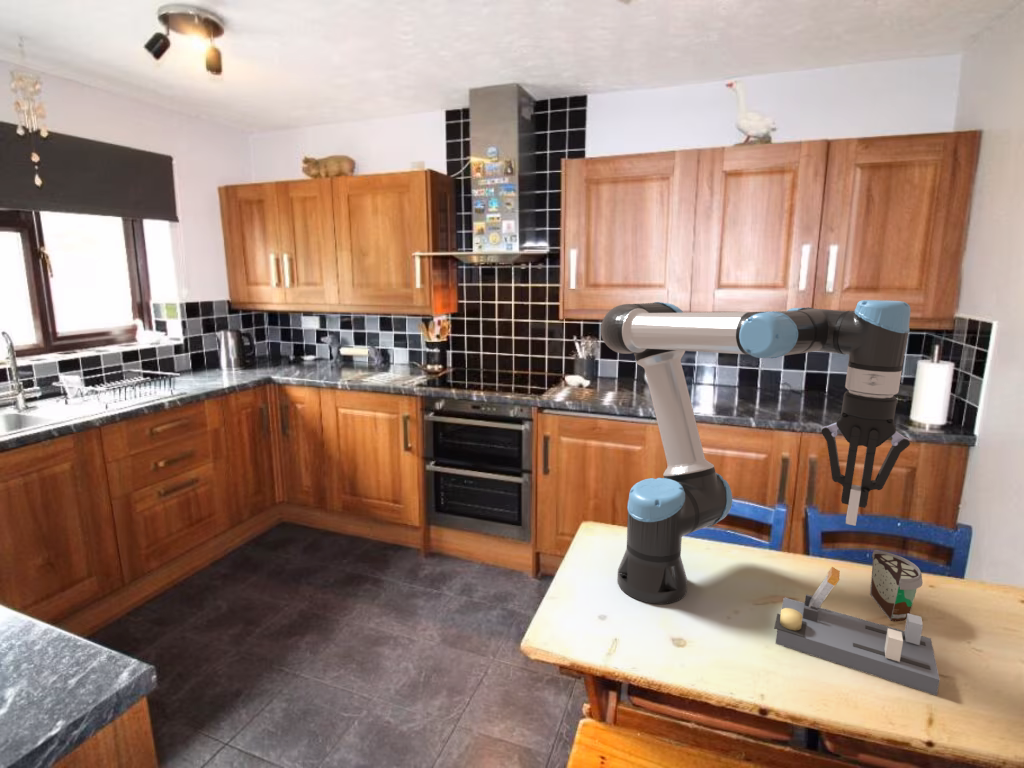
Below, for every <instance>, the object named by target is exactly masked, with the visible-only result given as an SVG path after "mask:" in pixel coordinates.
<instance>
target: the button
mask: <svg viewBox="0 0 1024 768" xmlns="http://www.w3.org/2000/svg"><path fill="white" fill-rule="evenodd" d="M781 609H782V608H781ZM781 609H780V613H781V616H780V624H781V625H782V626H783V627H785V628H787V629H789V630H795V631H796V630H800V629H801V626H802V617H803V616H802V614H801V613H800V612H798V611H797V610H794V609H791V608H784V609H782V610H781Z"/></svg>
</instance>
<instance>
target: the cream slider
mask: <svg viewBox="0 0 1024 768" xmlns="http://www.w3.org/2000/svg"><path fill="white" fill-rule="evenodd" d="M902 644H903V638H902V632H900V631H896V630H893V629H889V628H888V629H887V636H886V642H885V658H888V659H891V660H895V661H898V662H900V657H901V650H902Z"/></svg>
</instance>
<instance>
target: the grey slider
mask: <svg viewBox="0 0 1024 768" xmlns="http://www.w3.org/2000/svg"><path fill="white" fill-rule="evenodd" d="M923 626H924V624H923V621H922V616H919V615H915V614H912V613H910V614H909V613H907V619H906V620H905V626H904V631H905V632H904V634H905V640H906V642H910V643H913V644H917V645H920V639H921V636H922V634H923V633H922V632H923V628H924V627H923Z"/></svg>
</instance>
